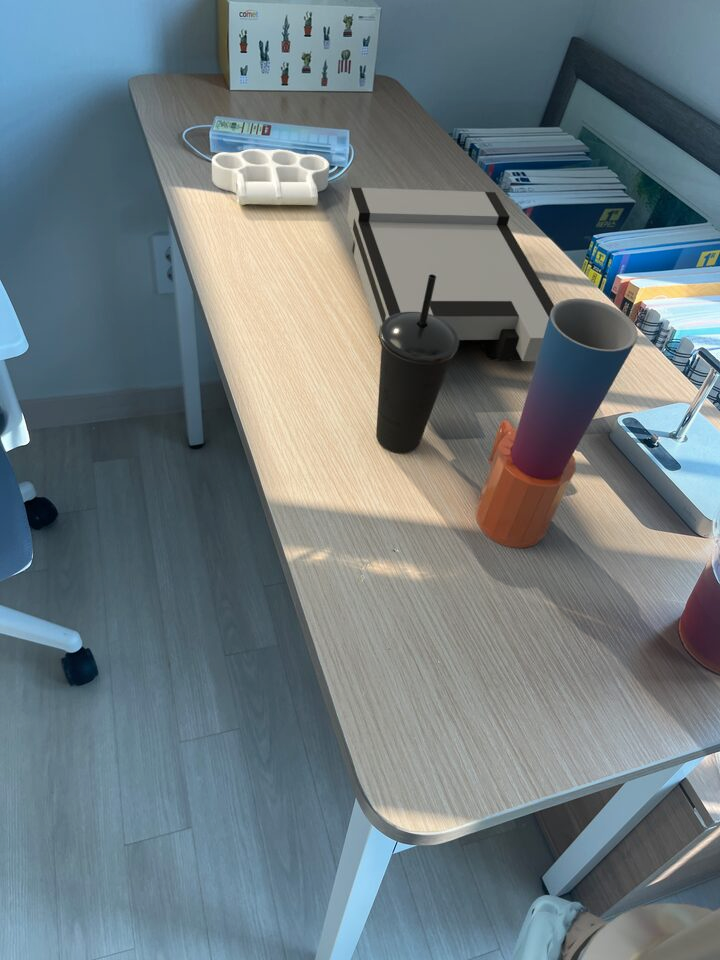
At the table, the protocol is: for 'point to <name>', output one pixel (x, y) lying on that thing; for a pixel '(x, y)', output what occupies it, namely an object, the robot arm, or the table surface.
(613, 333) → the cup
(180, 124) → the table surface
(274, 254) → the table surface
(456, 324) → the game console
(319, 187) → the knuckle duster
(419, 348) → the drinking cup
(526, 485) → the mug
